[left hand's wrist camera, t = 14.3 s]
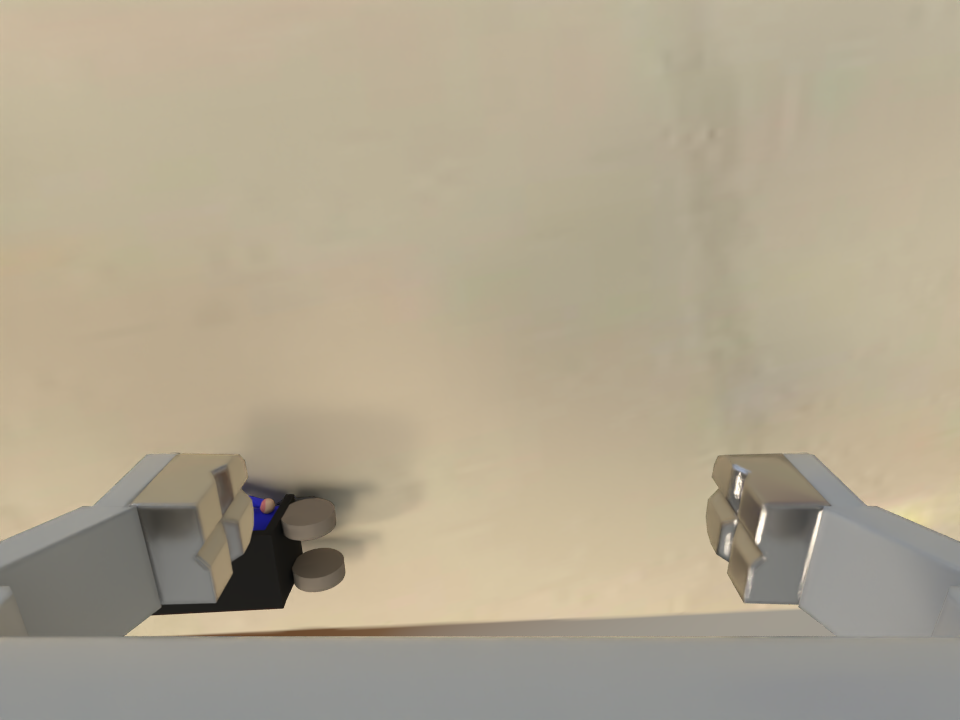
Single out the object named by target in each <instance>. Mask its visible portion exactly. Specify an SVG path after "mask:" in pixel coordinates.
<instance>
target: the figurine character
mask: <svg viewBox="0 0 960 720" xmlns="http://www.w3.org/2000/svg"><path fill="white" fill-rule="evenodd" d="M248 496H249V495H248ZM249 497H250V498H251V499H252V503H253V507H255V508H253V509H254V527H253V531H252V535H251V539H250V543H249V545H248V547H247V549H246V550H245V552H244V554H243V555H242V556H240V557H238V558H237V559H235V560H234V561H232V562H231V565H232V570H233V574H232V576H231V577H230V579H229V581H228V583H227V585H226V586H225V588H224V590H223V592H222V593H221V595H220V597H219V599H218V600H217V602H216V603H199V604H163V605H161V608H160V609H159V610H157V611H156V612H155V613H153V614H152V615H169V614H188V613H207V612H225V611H244V610H263V609H283V608H284V606H285V603H286V600H287V598H288V596H289V593H290V591H291V589H292V587H293V585H294V584H295V585H296V587H297V588H299V589H300V590H303V591H306V592H320V591H324V590H328V589H330V588H332V587H334V586H336V585H337V584H339V583H340V582H341V581H342V580H343V578H344V576H345V565H344V557H343V555H342V553H340V552H339V551H337V550H335V549H331V548H318V549H313V550H310V551H307V552H305V553H303V552H302V545H301V541H306V540H313V539H316V538H320V537H322V536H324V535H326V534H328V533H329V532H331V531H332V530H333V529H334V527H335V525H336V517H335V508H334V505H333V503H332V502H330V501H328V500H326V499H321V498H316V497H314V496H312V497H302V498H295V496H294V494H286V496H285V497H284V499H283V500H281V501H280V502H278V503H277V505H280V506H275V503H274V501H273V500H272V499H269V498H267V499H261V498H257V497H253V496H249Z"/></svg>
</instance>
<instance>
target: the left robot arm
mask: <svg viewBox="0 0 960 720" xmlns="http://www.w3.org/2000/svg"><path fill="white" fill-rule="evenodd" d="M247 478H248V473H247V469H246V464H245V460H244V459H243V458H242V457H241V456H240V455H239V454H188V453H183V454H180V453H154V454H147V455H146V456H145V457H144V458H143V459H142V460H141V461H139V462H138V463H137V464H136V465H135V466H134V467H133V468H132V469H131V470H130V471H129V472H128V473H127V474H126V475H125V476H124V477H123V478H122V479H121V480H120V481H119V482H118V483H117V484H115V485H114V486H113V487H112V488H111V489H110V490H109V491H108V492H107V493H106V494H105V495H104V496H103V497H102V498H101V499H100V500H99V501H98V502H97V503H96V504H95V505H94V506H83V507H80V508H78V509H76V510H73V511H71V512H69V513H66V514H64V515H62V516H59V517H57V518H54V519H52V520H50V521H47V522H45V523H43V524H40V525H38V526H36V527H33V528H31V529H29V530H26V531H24V532H22V533H19V534H17V535H15V536H12V537H10V538H8V539H5V540H3V541H1V542H0V720H960V542H959V541H957V540H955V539H952V538H950V537H948V536H945V535H943V534H941V533H938V532H936V531H934V530H931V529H929V528H927V527H924V526H922V525H919V524H917V523H915V522H912V521H910V520H908V519H905V518H903V517H901V516H898V515H896V514H894V513H891V512H889V511H887V510H884V509H882V508H880V507H877V506H866V505H865V504H864V503H863V502H862V501H861V500H860V499H859V498H858V497H857V496H856V495H855V494H854V493H853V492H852V491H851V490H850V489H849V488H848V487H847V486H846V485H845V484H844V483H843V482H842V481H840V480H839V479H838V478H837V477H836V476H835V475H834V474H833V473H832V472H831V471H830V470H829V469H828V468H827V467H826V466H825V465H824V464H823V463H822V462H821V461H820V460H819V459H818V458H817V457H816V456H814V455H812V454H809V453H787V454H743V455H720V456H718V457H717V459H716V461H715V463H714V467H713V473H712V478H713V480H714V481H715V483H716V484H717V486H718V488H719V489H718V490H717V491H716V492H715V493H714V494H713V495H712V496H711V497H710V498H709V499H708V503H707V511H706V523H707V533H708V536H709V539H710V542H711V545H712V547H713V549H714V550H715V552H716V554H717V555H718V556H720V557H722V558H723V559H725V560H726V561H728V562H729V565H728V570H727V574H728V576H729V577H730V579H731V581H732V583H733V585H734V586H735V588H736V590H737V592H738V593H739V595H740V597H741V599H742V600H743V602H744V603H760V604H796V605H799V606H798V607H799V608H800V609H802V610H803V611H804V612H806V613H807V614H808V615H810V616H811V617H812V618H813V619H815V620H816V621H817V622H819V623H820V624H821V625H823V626H824V627H825V628H826V629H828V630H829V631H830V632H832V633H833V634H834V635H836V636H605V637H604V636H600V637H599V636H598V637H597V636H595V637H594V636H578V637H577V636H563V637H562V636H550V637H549V636H546V637H545V636H542V637H541V636H540V637H539V636H538V637H537V636H530V637H529V636H526V637H525V636H518V637H517V636H513V637H512V636H480V637H479V636H125V635H126V634H127V633H129V632H130V631H131V630H132V629H134V628H135V627H136V626H138V625H139V624H140V623H142V622H143V621H144V620H146V619H147V618H148V617H149V616H151V615H152V614H153V613H155V612H156V611H157V610H159V609H160V608H161V605H163V604H199V603H216V602H217V600H218V599H219V597H220V595H221V593H222V592H223V590H224V588H225V586H226V585H227V583H228V581H229V579H230V577H231V576H232V574H233V570H232V565H231V562H232V561H234V560H235V559H237V558H238V557H240V556H242V555H243V554H244V552H245V550H246V549H247V547H248V545H249V543H250V539H251V535H252V531H253V527H254V509H253V503H252V499H251V498H250V497H249V496H248V495H247V494H246V493H245V492H244V491H243V490H242V489H241V488H242V486H243V484H244V483H245V481H246V480H247Z"/></svg>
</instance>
